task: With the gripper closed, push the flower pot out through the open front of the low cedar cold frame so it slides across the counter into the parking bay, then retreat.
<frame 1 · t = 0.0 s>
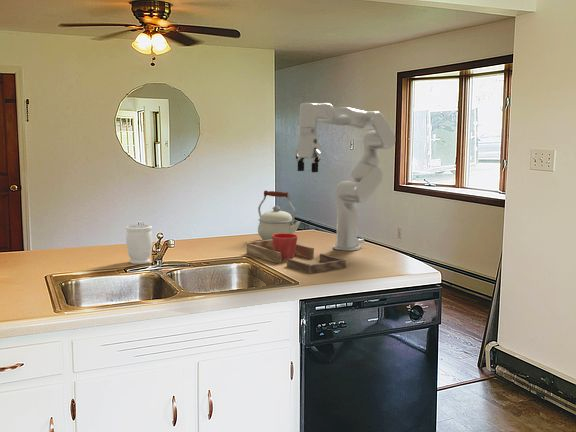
hand: (307, 171, 258), 37 cm above the worktop, tool pointing down, fingers open, 9 cm apart
cold frame: (279, 255, 259), on the worktop
kettle: (278, 242, 293), on the worktop
bay: (315, 266, 239), on the worktop
jar: (139, 262, 244), on the worktop
flower pot: (284, 258, 256), on the worktop
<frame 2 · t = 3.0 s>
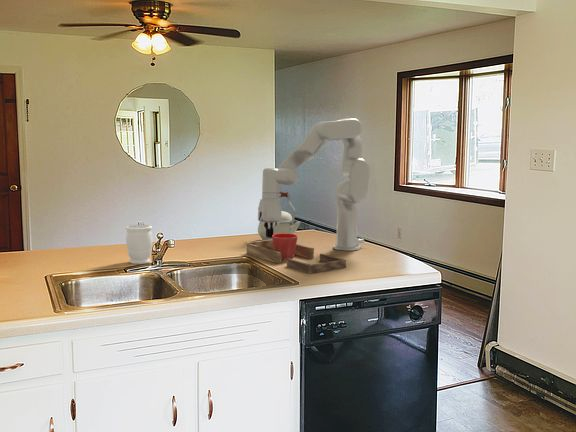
hand: (269, 237, 263), 7 cm above the worktop, tool pointing down, fingers closed
nothing on the worktop moved.
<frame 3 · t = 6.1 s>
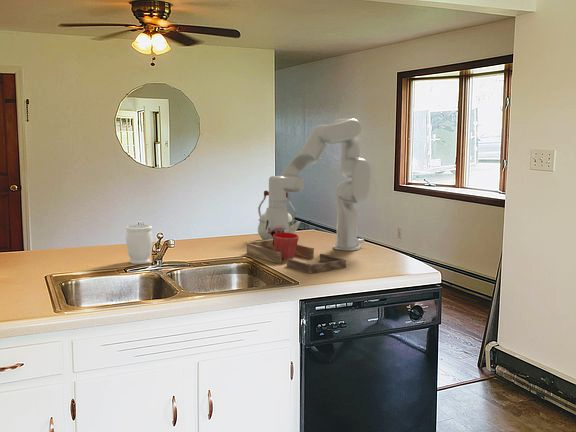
hand: (276, 245, 260), 4 cm above the worktop, tool pointing down, fingers closed
flower pot: (284, 257, 256), on the worktop, touching gripper
everything else where it was.
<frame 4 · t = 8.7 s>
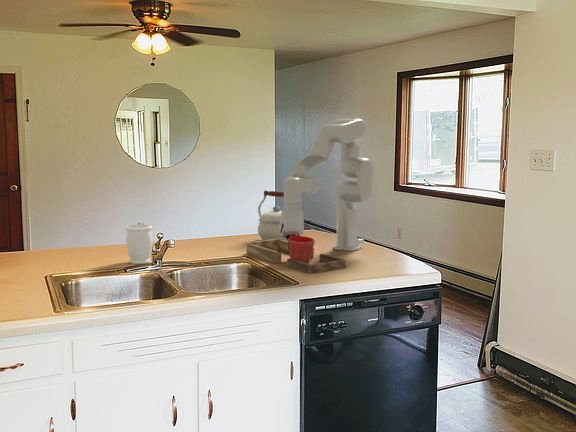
hand: (291, 249, 251), 4 cm above the worktop, tool pointing down, fingers closed
flower pot: (300, 262, 247), on the worktop, touching gripper
everything else where it was.
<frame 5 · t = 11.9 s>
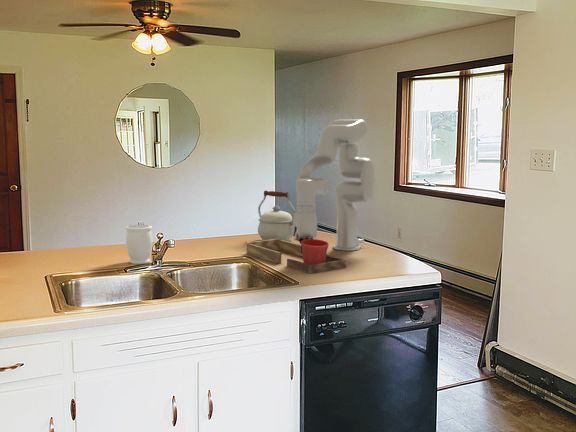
hand: (305, 253, 244), 4 cm above the worktop, tool pointing down, fingers closed
flower pot: (313, 266, 240), on the worktop, touching gripper
everything else where it was.
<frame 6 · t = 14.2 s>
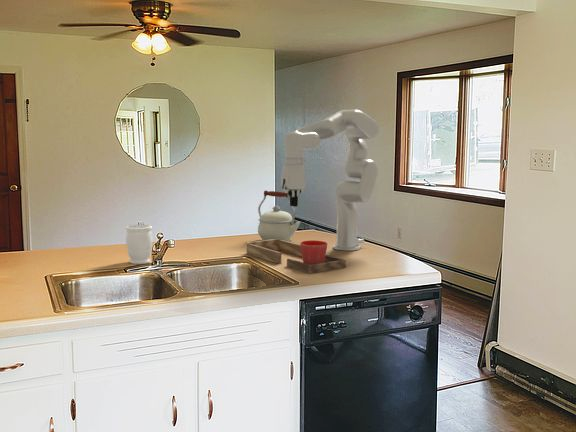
hand: (293, 206, 248), 23 cm above the worktop, tool pointing down, fingers closed
flower pot: (313, 266, 240), on the worktop
everything else where it was.
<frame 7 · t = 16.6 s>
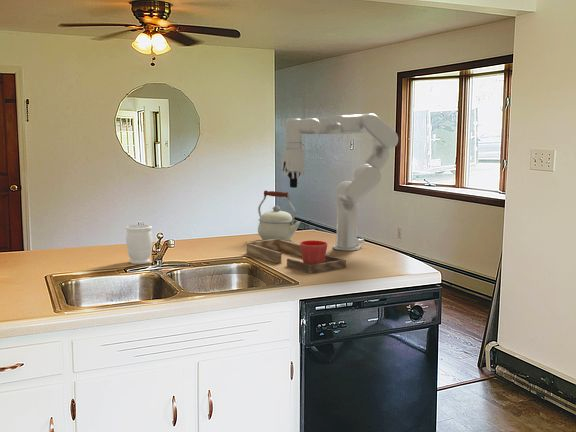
hand: (293, 187, 267), 29 cm above the worktop, tool pointing down, fingers closed
nothing on the worktop moved.
at the end: flower pot inside the target area (1.4 cm from its centre), on the worktop; flower pot tilted 0° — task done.
